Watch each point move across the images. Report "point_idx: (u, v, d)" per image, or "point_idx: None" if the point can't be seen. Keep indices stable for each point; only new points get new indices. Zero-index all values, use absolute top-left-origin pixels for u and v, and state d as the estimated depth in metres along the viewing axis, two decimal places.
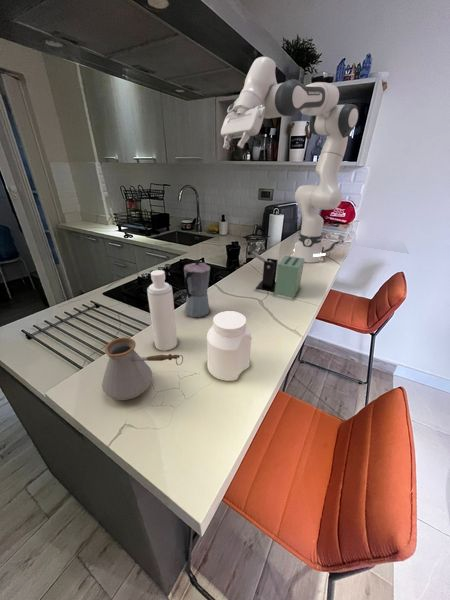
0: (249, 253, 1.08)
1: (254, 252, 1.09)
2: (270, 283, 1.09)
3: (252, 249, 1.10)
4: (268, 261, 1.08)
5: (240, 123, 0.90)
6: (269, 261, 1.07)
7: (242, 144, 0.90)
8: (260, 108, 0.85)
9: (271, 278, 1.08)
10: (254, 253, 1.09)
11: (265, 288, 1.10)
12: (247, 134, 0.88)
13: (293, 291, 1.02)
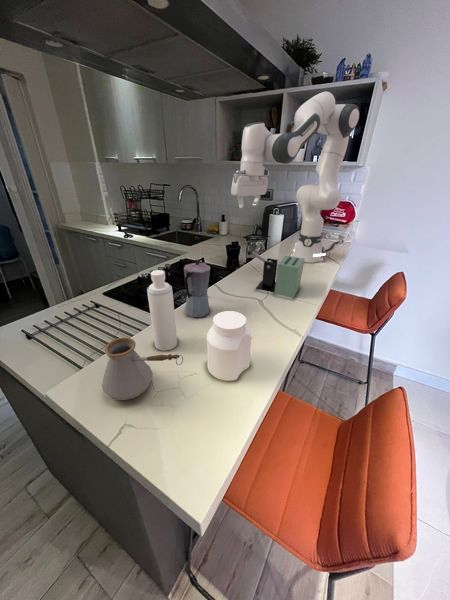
0: (249, 253, 1.08)
1: (254, 252, 1.09)
2: (270, 283, 1.09)
3: (252, 249, 1.10)
4: (268, 261, 1.08)
5: None
6: (269, 261, 1.07)
7: (240, 205, 1.05)
8: None
9: (271, 278, 1.08)
10: (254, 253, 1.09)
11: (265, 288, 1.10)
12: (239, 197, 1.03)
13: (293, 291, 1.02)
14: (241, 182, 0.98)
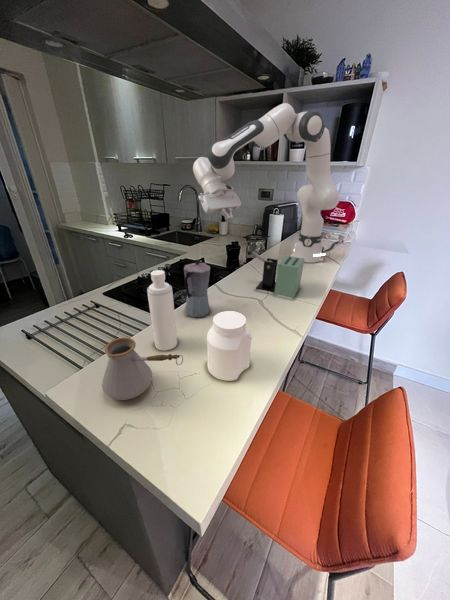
0: (249, 253, 1.08)
1: (254, 252, 1.09)
2: (270, 283, 1.09)
3: (252, 249, 1.10)
4: (268, 261, 1.08)
5: None
6: (269, 261, 1.07)
7: (226, 216, 1.11)
8: None
9: (271, 278, 1.08)
10: (254, 253, 1.09)
11: (265, 288, 1.10)
12: (221, 211, 1.11)
13: (293, 291, 1.02)
14: (207, 198, 1.07)
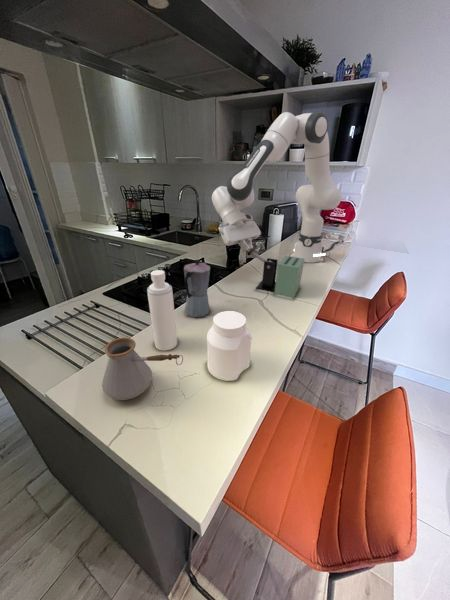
0: (249, 253, 1.08)
1: (253, 252, 1.09)
2: (270, 283, 1.09)
3: (252, 249, 1.10)
4: (268, 261, 1.08)
5: None
6: (269, 261, 1.07)
7: (246, 247, 1.08)
8: None
9: (271, 278, 1.08)
10: (254, 253, 1.09)
11: (265, 288, 1.10)
12: (241, 242, 1.08)
13: (293, 291, 1.02)
14: (228, 230, 1.04)
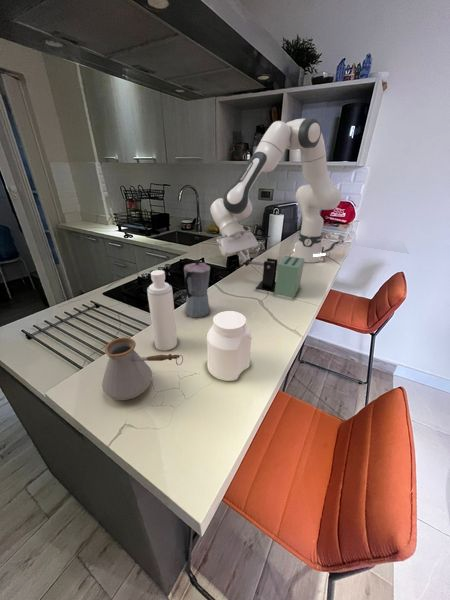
0: (246, 264, 1.10)
1: (251, 261, 1.12)
2: (270, 283, 1.09)
3: (249, 260, 1.13)
4: None
5: None
6: None
7: (244, 258, 1.11)
8: None
9: (271, 278, 1.08)
10: (251, 262, 1.11)
11: (265, 288, 1.10)
12: (238, 253, 1.11)
13: (293, 291, 1.02)
14: (225, 242, 1.07)
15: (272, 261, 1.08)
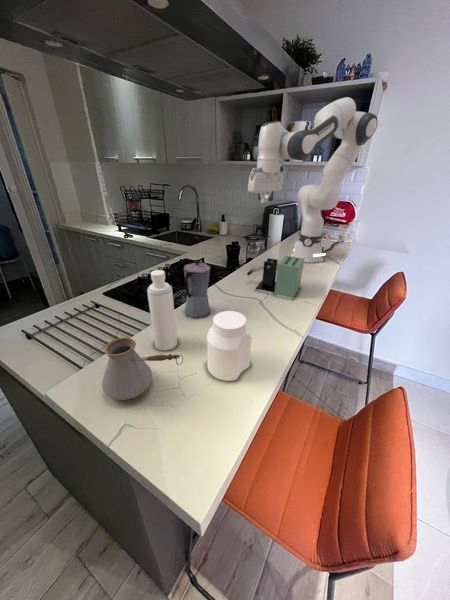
0: (248, 273, 1.12)
1: (252, 269, 1.13)
2: (270, 283, 1.09)
3: None
4: None
5: None
6: None
7: (263, 200, 1.13)
8: None
9: (271, 278, 1.08)
10: (253, 270, 1.12)
11: (265, 288, 1.10)
12: (261, 193, 1.11)
13: (293, 291, 1.02)
14: (257, 179, 1.03)
15: (271, 261, 1.08)
